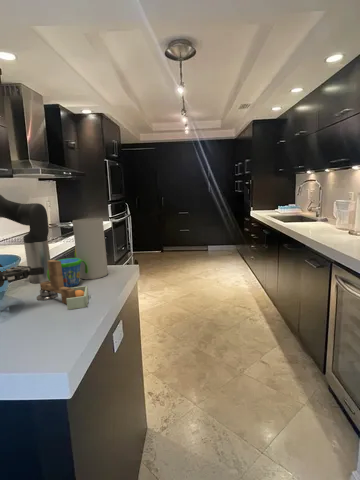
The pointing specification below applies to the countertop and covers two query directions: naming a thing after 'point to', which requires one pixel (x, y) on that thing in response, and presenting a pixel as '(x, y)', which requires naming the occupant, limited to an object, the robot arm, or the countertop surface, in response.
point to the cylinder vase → (91, 247)
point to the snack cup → (71, 271)
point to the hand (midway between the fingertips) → (43, 270)
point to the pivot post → (46, 295)
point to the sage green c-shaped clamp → (78, 299)
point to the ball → (79, 293)
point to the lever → (57, 281)
